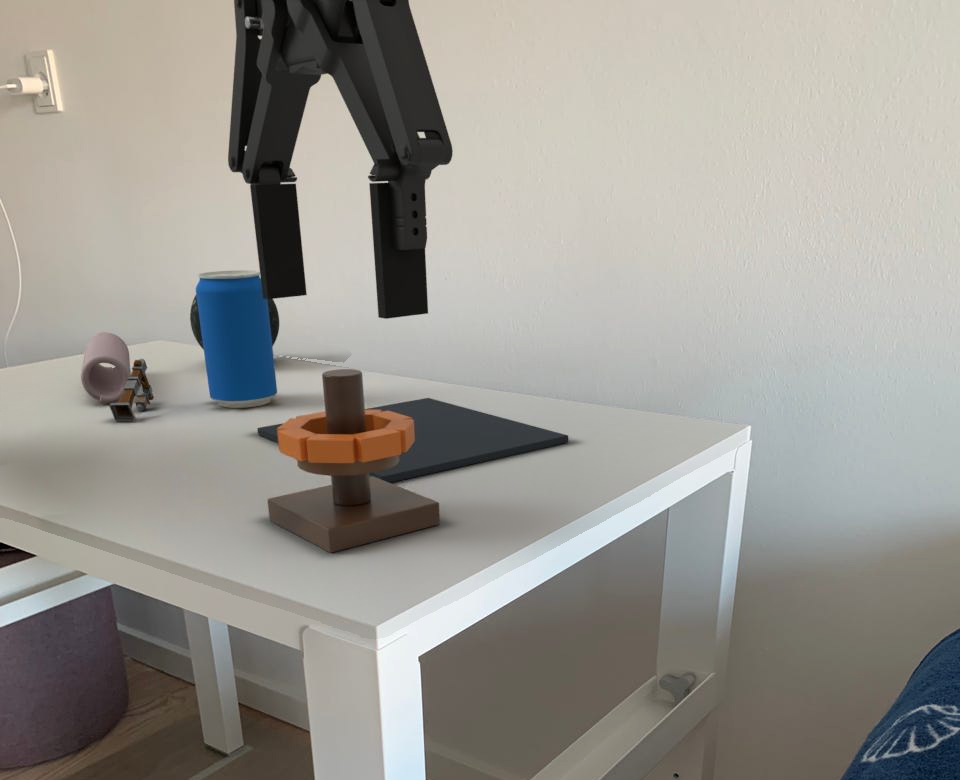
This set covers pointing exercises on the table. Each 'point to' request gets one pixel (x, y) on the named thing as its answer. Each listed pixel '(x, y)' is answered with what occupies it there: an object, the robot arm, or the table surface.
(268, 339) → the beverage can
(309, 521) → the stand
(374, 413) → the ring
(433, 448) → the mat
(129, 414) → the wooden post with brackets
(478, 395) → the table surface
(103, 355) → the pink tube
